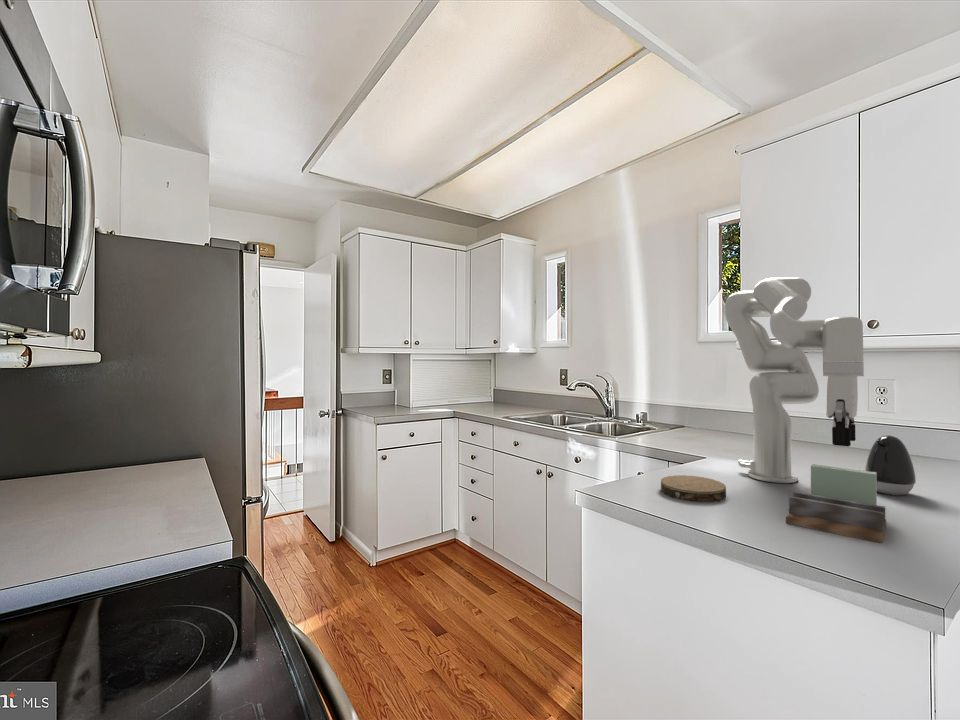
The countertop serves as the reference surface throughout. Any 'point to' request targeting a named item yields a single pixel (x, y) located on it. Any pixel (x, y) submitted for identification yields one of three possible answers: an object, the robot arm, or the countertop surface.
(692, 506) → the countertop surface
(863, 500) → the door panel
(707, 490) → the brown flat round disc
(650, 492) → the countertop surface
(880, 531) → the track board
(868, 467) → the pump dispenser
